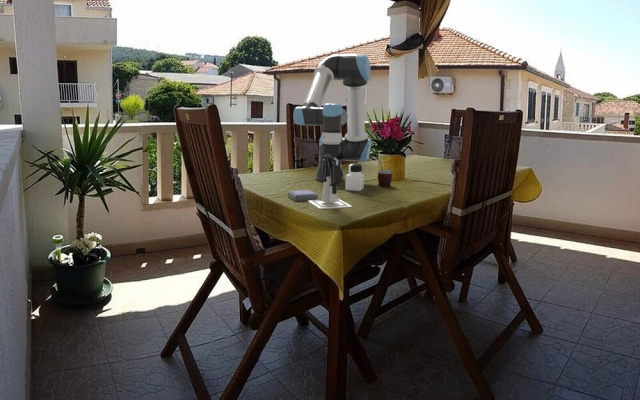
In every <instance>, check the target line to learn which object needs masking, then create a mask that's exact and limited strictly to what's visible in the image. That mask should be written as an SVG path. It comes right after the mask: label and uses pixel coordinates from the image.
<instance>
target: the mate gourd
mask: <svg viewBox="0 0 640 400" xmlns="http://www.w3.org/2000/svg"><path fill="white" fill-rule="evenodd" d="M376 159H378V162H379V165H380V169H379V170H378V172H377V181H378V182H377V183H378V186H379V187H380V186H381V188H382V187H383V188H384V187H388V188H389V187H391V183H392V178H393V173H392V171H391V169H386V168H384V169H383V166H382V162H381V159H380V158H379V157H377V156H376Z"/></svg>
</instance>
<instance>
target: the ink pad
mask: <svg viewBox="0 0 640 400" xmlns="http://www.w3.org/2000/svg"><path fill="white" fill-rule="evenodd" d="M287 192H288V194H287V195H288V197H289V198H290V199H291V200H293V201H294V202H304V201H305V202H306V201H307V202H308V201H310V200H319V195H318V194H317V193H316V192H314V191H312V190H310V189H304V190H302V189H301V190H289V191H287Z"/></svg>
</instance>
